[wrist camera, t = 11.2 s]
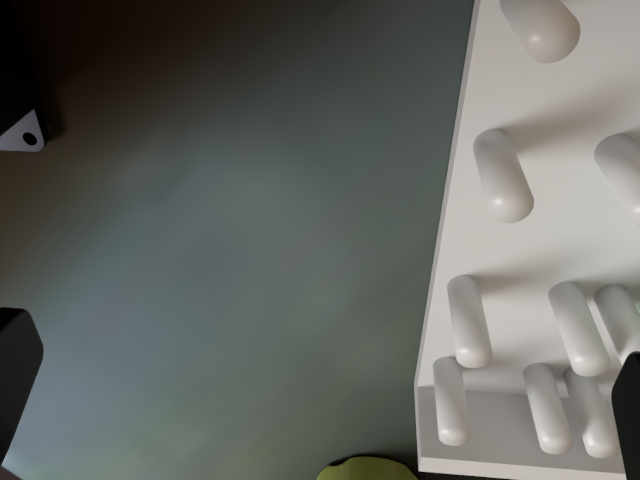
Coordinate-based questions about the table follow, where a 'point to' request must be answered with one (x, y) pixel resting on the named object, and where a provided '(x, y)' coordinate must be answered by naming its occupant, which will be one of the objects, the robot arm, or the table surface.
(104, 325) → the table surface
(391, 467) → the plant pot
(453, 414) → the dish rack
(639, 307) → the green square slab
